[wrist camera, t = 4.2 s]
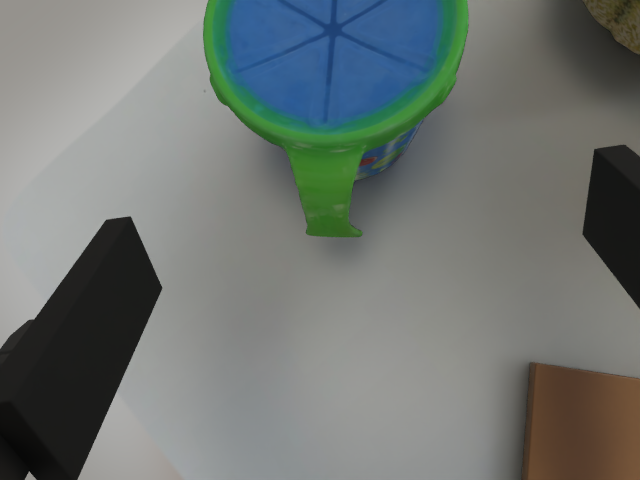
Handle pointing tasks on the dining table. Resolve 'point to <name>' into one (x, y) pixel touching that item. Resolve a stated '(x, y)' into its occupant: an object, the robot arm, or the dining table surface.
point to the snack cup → (334, 84)
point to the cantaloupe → (619, 20)
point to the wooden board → (581, 425)
